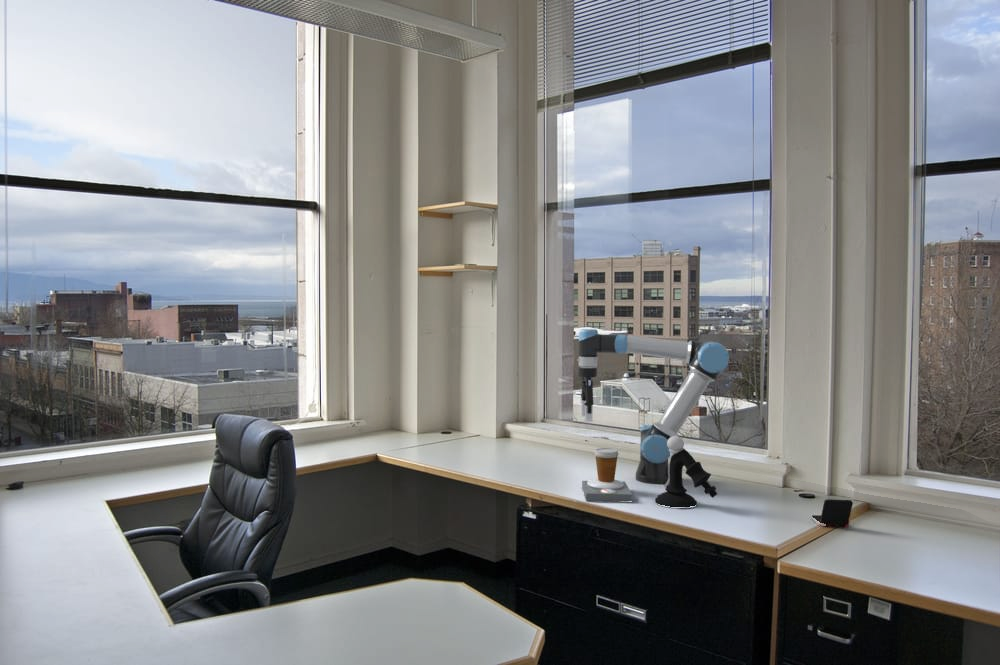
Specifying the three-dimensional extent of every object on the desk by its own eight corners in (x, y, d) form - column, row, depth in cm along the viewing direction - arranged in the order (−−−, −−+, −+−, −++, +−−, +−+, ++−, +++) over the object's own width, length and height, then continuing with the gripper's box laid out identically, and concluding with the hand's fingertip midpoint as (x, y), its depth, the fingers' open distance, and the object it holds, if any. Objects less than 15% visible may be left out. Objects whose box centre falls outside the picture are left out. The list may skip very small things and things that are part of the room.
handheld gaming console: (838, 520, 260) (839, 491, 260) (853, 530, 248) (854, 500, 247) (811, 519, 260) (811, 490, 260) (823, 529, 248) (824, 499, 248)
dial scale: (624, 489, 299) (624, 479, 299) (632, 502, 279) (632, 491, 279) (581, 488, 299) (582, 478, 299) (586, 501, 279) (586, 490, 279)
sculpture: (667, 495, 289) (669, 431, 288) (725, 507, 273) (727, 439, 272) (647, 503, 278) (648, 436, 277) (706, 516, 262) (708, 445, 261)
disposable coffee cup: (600, 484, 290) (600, 453, 289) (590, 478, 299) (590, 448, 298) (622, 482, 293) (622, 451, 292) (612, 476, 302) (612, 447, 301)
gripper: (575, 364, 318) (574, 414, 319) (582, 369, 293) (581, 423, 294) (592, 364, 318) (592, 414, 319) (601, 369, 293) (600, 423, 294)
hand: (586, 419), depth 306 cm, fingers open, 13 cm apart
